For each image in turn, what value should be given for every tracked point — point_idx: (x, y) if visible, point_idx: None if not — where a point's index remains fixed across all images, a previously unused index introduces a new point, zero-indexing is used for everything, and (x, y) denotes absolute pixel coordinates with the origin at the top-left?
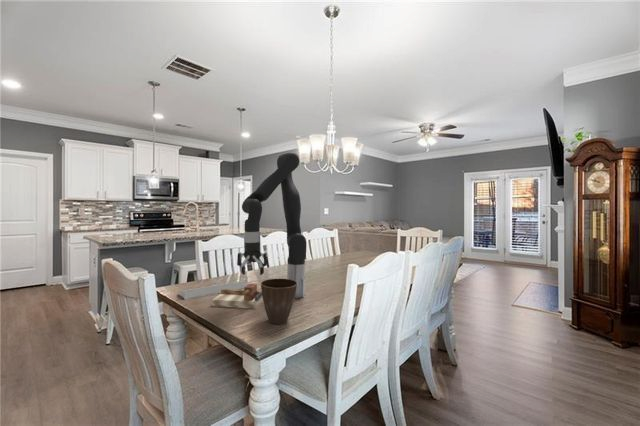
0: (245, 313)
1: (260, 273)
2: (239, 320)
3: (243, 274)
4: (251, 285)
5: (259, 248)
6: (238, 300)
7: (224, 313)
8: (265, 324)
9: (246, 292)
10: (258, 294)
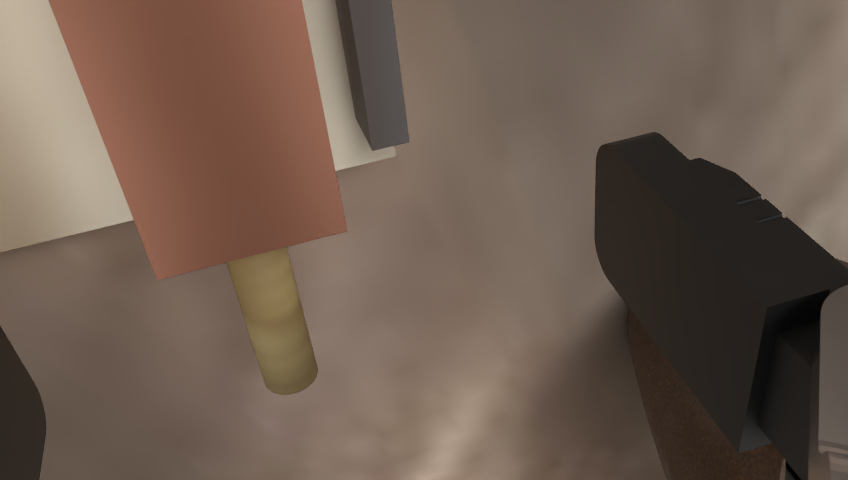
0: (325, 288)
1: (632, 292)
2: (363, 429)
3: (28, 426)
4: (225, 90)
5: None
6: (77, 201)
7: (85, 384)
8: (611, 389)
9: (307, 353)
10: (373, 11)
